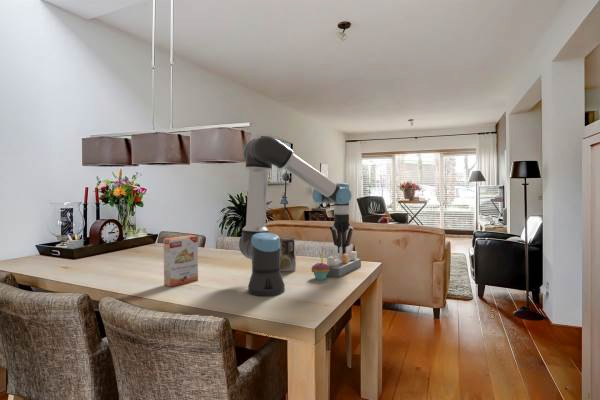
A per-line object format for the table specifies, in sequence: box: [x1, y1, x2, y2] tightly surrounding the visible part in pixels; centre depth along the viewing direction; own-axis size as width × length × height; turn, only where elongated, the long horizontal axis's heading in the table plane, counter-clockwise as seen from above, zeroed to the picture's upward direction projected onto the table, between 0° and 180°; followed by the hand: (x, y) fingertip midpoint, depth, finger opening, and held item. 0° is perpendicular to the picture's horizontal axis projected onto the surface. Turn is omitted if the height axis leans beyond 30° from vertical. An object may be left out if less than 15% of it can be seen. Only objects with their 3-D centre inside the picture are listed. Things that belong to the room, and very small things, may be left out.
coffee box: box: [279, 237, 297, 272], centre depth 179 cm, size 9×6×16 cm
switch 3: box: [349, 250, 358, 260], centre depth 184 cm, size 3×2×4 cm
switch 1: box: [326, 256, 335, 266], centre depth 171 cm, size 3×2×4 cm
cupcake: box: [311, 252, 330, 281], centre depth 163 cm, size 9×8×12 cm
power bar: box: [326, 257, 362, 278], centre depth 178 cm, size 26×9×4 cm, turn 147°
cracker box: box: [163, 234, 199, 288], centre depth 157 cm, size 14×6×21 cm, turn 139°
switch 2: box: [342, 253, 350, 263], centre depth 177 cm, size 3×2×4 cm
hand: (341, 259), depth 178 cm, fingers closed
